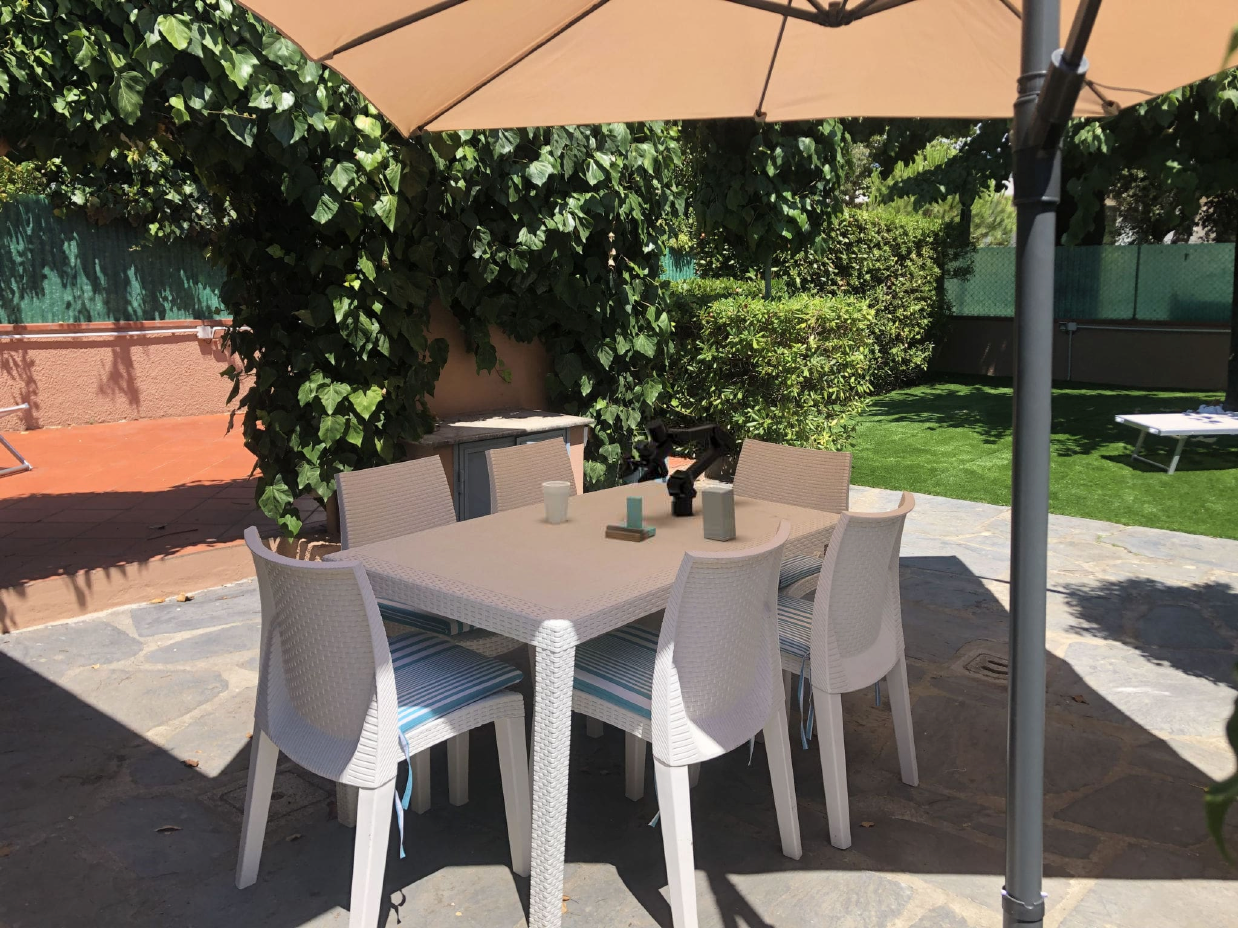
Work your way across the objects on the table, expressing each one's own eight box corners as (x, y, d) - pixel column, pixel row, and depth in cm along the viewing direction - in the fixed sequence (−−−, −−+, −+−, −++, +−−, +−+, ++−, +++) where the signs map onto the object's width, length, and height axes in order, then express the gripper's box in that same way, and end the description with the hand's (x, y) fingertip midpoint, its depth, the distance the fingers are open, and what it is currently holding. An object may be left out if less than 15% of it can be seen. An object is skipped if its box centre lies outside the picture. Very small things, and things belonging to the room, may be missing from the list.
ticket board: (615, 533, 315) (615, 522, 315) (649, 537, 309) (649, 526, 308) (604, 537, 310) (604, 526, 309) (639, 542, 303) (639, 531, 303)
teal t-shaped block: (623, 529, 319) (622, 494, 317) (655, 533, 313) (655, 497, 311) (616, 532, 315) (616, 496, 313) (649, 536, 309) (649, 500, 307)
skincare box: (736, 538, 307) (736, 488, 305) (722, 542, 302) (722, 491, 300) (714, 534, 313) (715, 485, 310) (700, 538, 308) (700, 488, 305)
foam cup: (575, 519, 335) (575, 482, 333) (562, 525, 327) (562, 487, 325) (551, 517, 339) (550, 480, 337) (537, 523, 331) (536, 485, 329)
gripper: (631, 431, 334) (600, 456, 326) (670, 436, 320) (639, 463, 312) (642, 458, 339) (612, 484, 331) (681, 464, 325) (651, 491, 317)
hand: (628, 480), depth 322 cm, fingers open, 9 cm apart
